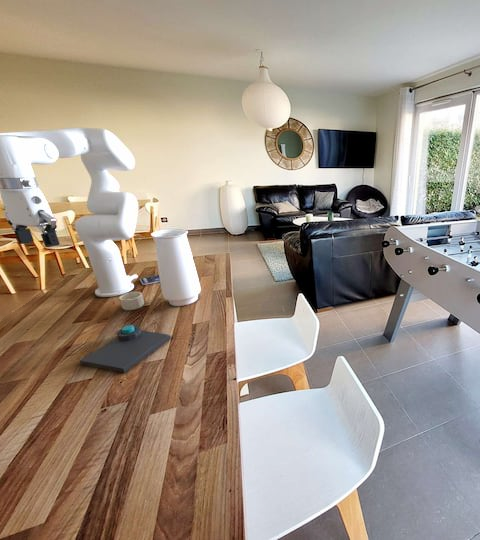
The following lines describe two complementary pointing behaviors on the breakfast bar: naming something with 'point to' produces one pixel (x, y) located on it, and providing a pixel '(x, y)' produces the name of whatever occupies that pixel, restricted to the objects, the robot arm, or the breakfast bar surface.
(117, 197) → the robot arm
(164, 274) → the vase
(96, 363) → the scale
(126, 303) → the bowl
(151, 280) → the smartphone
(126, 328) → the tare button
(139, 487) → the breakfast bar surface
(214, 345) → the breakfast bar surface
